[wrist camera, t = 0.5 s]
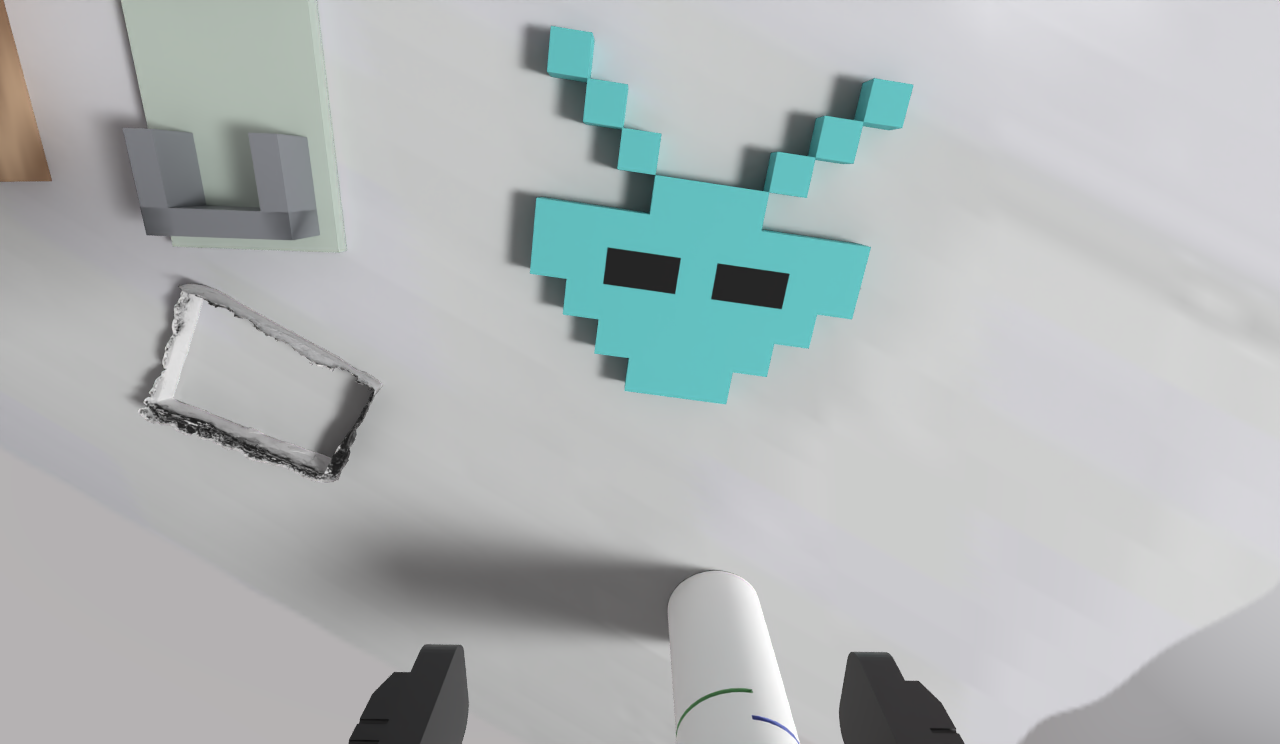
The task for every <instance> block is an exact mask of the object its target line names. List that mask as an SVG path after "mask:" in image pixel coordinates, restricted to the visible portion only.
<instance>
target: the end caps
mask: <svg viewBox="0 0 1280 744" xmlns="http://www.w3.org/2000/svg"><path fill="white" fill-rule="evenodd" d="M123 132H124V136H125V141H126V145H127V150H128V154H129V159H130V163H131V168H132V172H133V177H134V181H135V186H136V190H137V195H138V199H139V203H140V208H141V212H142V217H143V221H144V226H145V230H146V235H157V236H184V237H212V238H239V239H266V240H298V239H303V238H308V237H314V236H319V235H320V230H319V222H318V215H317V207H316V200H315V192H314V185H313V177H312V169H311V162H310V154H309V147H308V139H307V137H300V136H292V135H283V134H270V133H248V136H249V142H250V148H251V155H252V161H253V167H254V173H255V179H256V185H257V192H258V198H259V204H260V207H236V206H209V205H206V200H205V195H204V190H203V185H202V179H201V174H200V169H199V164H198V158H197V153H196V148H195V142H194V137H193V133H189V132H179V131H169V130H158V129H143V128H123Z"/></svg>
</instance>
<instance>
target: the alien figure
mask: <svg viewBox="0 0 1280 744" xmlns="http://www.w3.org/2000/svg"><path fill="white" fill-rule="evenodd" d="M593 50H594V37H593V33H592V32H585V31H579V30H573V29H567V28H561V27H555V26H551V30H550V42H549V54H548V66H547V72H548V73H549V75H550V76H551V77H556V78H562V79H569V80H575V81H581V82H587V88H586V97H585V107H584V117H583V122H584V123H585V124H587V125H594V126H600V127H607V128H613V129H620V130H622V135H621V143H620V151H619V159H618V167H617V169H618V170H625V171H631V172H638V173H644V174H651V175H655V177H654V184H653V191H652V198H651V205H650V212H649V213H647V212H640V211H634V210H627V209H620V208H613V207H607V206H600V205H593V204H586V203H580V202H573V201H566V200H559V199H553V198H546V197H538V198H536V208H535V220H534V232H533V244H532V255H531V267H530V274H536V275H543V276H550V277H557V278H564V279H567V280H566V289H565V299H564V308H563V314H564V315H571V316H578V317H585V318H592V319H599V320H598V328H597V336H596V344H595V352H594V353H595V354H602V355H610V356H617V357H624V358H628V365H627V372H626V379H625V391H630V392H637V393H645V394H652V395H660V396H667V397H675V398H682V399H690V400H697V401H705V402H712V403H720V404H726V403H727V398H728V393H729V388H730V383H731V378H732V373H733V372H734V373H742V374H749V375H756V376H764V377H767V374H768V369H769V365H770V360H771V356H772V351H773V347H774V344H779V345H787V346H794V347H801V348H808V349H809V345H810V341H811V337H812V333H813V329H814V325H815V320H816V316H817V314H818V315H825V316H832V317H839V318H846V319H852V317H853V313H854V310H855V306H856V302H857V298H858V294H859V291H860V287H861V283H862V279H863V275H864V271H865V268H866V264H867V260H868V256H869V252H870V249H871V247H868V246H865V245H862V244H856V243H850V242H843V241H836V240H829V239H823V238H816V237H809V236H802V235H796V234H789V233H782V232H775V231H769V230H762V226H763V221H764V216H765V211H766V206H767V201H768V196H769V192H770V193H776V194H783V195H790V196H796V197H804V198H807V194H808V190H809V185H810V181H811V176H812V172H813V167H814V163H815V160H820V161H826V162H833V163H839V164H854V160H855V156H856V152H857V148H858V143H859V139H860V135H861V131H862V127H863V126H866V127H872V128H878V129H885V130H894V129H899V128H902V127H903V123H904V119H905V115H906V112H907V108H908V104H909V100H910V96H911V93H912V89H913V85H912V84H906V83H900V82H894V81H888V80H881V79H875V78H874V79H872V80H869V81H867V82H864V83H863V84H862V88H861V93H860V97H859V101H858V105H857V109H856V114H855V118H854V120H849V119H843V118H836V117H830V116H823V117H820V118H816V121H815V126H814V130H813V135H812V139H811V144H810V148H809V153H808V156H802V155H795V154H789V153H783V152H773V153H771V155H770V160H769V165H768V170H767V175H766V180H765V185H764V190H763V191H758V190H751V189H745V188H738V187H732V186H725V185H718V184H712V183H705V182H699V181H692V180H685V179H679V178H672V177H666V176H659V175H656V169H657V162H658V155H659V148H660V141H661V134H660V133H653V132H647V131H640V130H634V129H628V128H623V127H624V119H625V111H626V103H627V95H628V84H622V83H616V82H609V81H603V80H597V79H590V78H591V69H592V59H593Z"/></svg>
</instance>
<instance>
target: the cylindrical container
mask: <svg viewBox="0 0 1280 744" xmlns="http://www.w3.org/2000/svg"><path fill="white" fill-rule="evenodd" d="M667 611H668V625H669V640H670V654H671V669H672V684H673V698H674V713H675V728H676V741H677V744H800V742H799V739H798V735H797V732H796V728H795V725H794V721H793V718H792V714H791V710H790V707H789V703H788V700H787V696H786V693H785V689H784V686H783V682H782V679H781V675H780V672H779V668H778V665H777V661H776V658H775V654H774V651H773V647H772V644H771V640H770V637H769V633H768V630H767V626H766V623H765V619H764V616H763V613H762V609H761V606H760V602H759V599H758V596H757V593H756V592H755V590H754V588H753V587H752V586H751V585H750V584H749V583H748V582H747V581H746V580H744V579H743V578H741V577H740V576H738V575H735V574H733V573H729V572H725V571H706V572H702V573H698V574H695V575H693V576H691V577H689V578H687V579H686V580H684V581H683V582H682V583H680V584H679V585H678V587H677V588H676V589H675V590H674V592H673V593H672V595H671V597H670V599H669V602H668V609H667Z"/></svg>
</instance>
